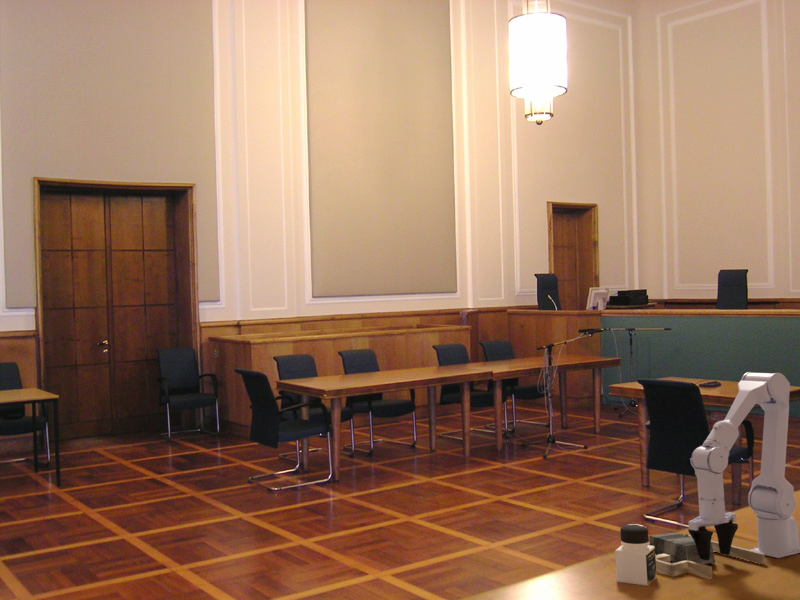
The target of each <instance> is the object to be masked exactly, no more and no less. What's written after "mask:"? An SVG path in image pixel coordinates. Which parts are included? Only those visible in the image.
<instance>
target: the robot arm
mask: <svg viewBox="0 0 800 600" xmlns="http://www.w3.org/2000/svg"><path fill="white" fill-rule="evenodd" d="M790 388H791V382H789V380H788V379H787V378H786V376H785V375H784V374H783V373H781V372H774V373H771V372H753V371H748V372H745V373H744V374H743V375H742V377H741V379H740V381H739V382H737V389H738V393H736V394H737V395H736V396H735V399H734V400H733V403H732V404H731V406H730V408H729V410H728V412H727V414H726V415H725V418H724V419H723V420H719V421H716V422H715V423H714V424H713V425H712V429H711V431H710V433H709V434H708V436H707V437H706V438H705V440H704V441H703V443H702V445H699V446H698V447H696V448H695V449H694V450H693V452H692V453H691V458H689V460H690V464H691V466H692V468H693V469H694V475H695V476H696V479H697V496H698V510H699V513H698V516H696V517H695V518H693V519H691V520H688V528H687V530H688V533H689V535H691V536H692V538H693V540H694V542H695V544H696V546H697V549H698V552H699V555H700V558H701V559H703V560H709V559H710V543H711V540H712V538H713V534H714V531H712V530H708V529H707V528H710V527H714V529H715V532H716V537H717V542H718V543H719V550H720V553H721V554H720V555H722V554H725V555H724V556H726V555H729V554H730V549H731V545H732V544H733V539H734V536H735V534H736V532H737V531H738V529H739V524H738V523H735V522H737V514H736V512H730V511H728V512H726V505H725V503H726V502H725V490H724V488H725V487H724V476H723V475H724V473H723V472H724V471H725V469H726V468H727V467H728V464H729V456H730V451H731V449H732V447H733V446H734V444H735V443H736V441H737V439H738V438H739V436H740V432H739V426H741V424H742V422H743V421H744V420H745V419H746V417H747V416H748V414H749V413H750V411H751V410H752V409H753V408H754V407H755V405H758V406H760V408H761V409H762V410H763V411H764V416H763V418H764V419H763V429H762V430H763V432H762V444H761V445H762V446H761V447H762V448H761V461H760V462H761V463H760V474H759V475H758V476H756V477H755V478H753V480H751V487H750V490H749V492H748V496H747V501H748V505H749V507H750V509H751V510H752V511H753V514H754V515H756V532H757V534H756V535H757V547H754V548H751V549H750V550H752V551H756V552H760V553H764V554H765V556H768V557H772V558H776V559H781V558H785V557H788V556H793V555H797V554H799V553H800V539H799V525H798V522H797V520H796V519H795V518H794V517H793V514H794V513H795V511H796V503H797V502H796V499H795V498H796V497H795V492H794V491H795V487H794V486H793V484H791V483H790V482H789V481H788V480H787V479H786V477H785V473H786V463H787V462H786V461H787V460H786V459H787V446H788V429H789V415H790V414H789V413H790V393H791V392H790V391H791V389H790Z"/></svg>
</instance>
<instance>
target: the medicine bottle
mask: <svg viewBox="0 0 800 600" xmlns="http://www.w3.org/2000/svg"><path fill="white" fill-rule="evenodd" d="M619 532H620V533H619V534H620V544H621V545H620V546H619V547H618V548H616V549H615V551H614V555H615V556H614V559H615V575H616V576H615V578H616V580H615V581H616V582H617V583H621V584H623V583H624V584H628V585H629V584H630V585H638V586H643V587H644V586H645V587H647V586H649V585H650V584H651V583H652V582H654V580H655V579H656V578H657V572H656V557H655V546H650V545H649V543H650V541H649V529H648V528H647V527H646V526H644V525H641V524H637V523H635V524H634V523H632V524H631V523H630V524H628V523H627V524H625V525H622V526H621V527H620V530H619Z"/></svg>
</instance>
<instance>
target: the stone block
mask: <svg viewBox="0 0 800 600" xmlns="http://www.w3.org/2000/svg"><path fill="white" fill-rule="evenodd" d="M688 535H689V534H688V533H685V534H683V533H678V532H669V533H667V532H666V533H660V534H651V535H648V537H649V543H650V546H655V554H656V555H659V554H668V555H670V559H671V561H672V563H676V562H681V561H685V560H689V561H692V562H696V563H700V564H703V565H708V564H710V563H711V564H710V565H715V563H716V559H715V555H714V554H715V553H714V552H713V548H712V542H711V543H710V559H709V560H703V559H701V558H700V555H699V552H698V549H697V546H696V544H695V542H694V540H693V538H692V537H689V536H688Z"/></svg>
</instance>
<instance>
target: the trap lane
mask: <svg viewBox="0 0 800 600" xmlns="http://www.w3.org/2000/svg"><path fill="white" fill-rule="evenodd" d="M688 536H689V537H692V536H691V535H690V534H688ZM711 542H712V548H713V551H716V552H719V553H720V550H719V543H718V541H715V540H712V539H711ZM649 545H650V542H649ZM729 555H730V556H734V557H738V558H742V559H746V560H749V561H753V562H757V563H760V564H765V565H766V555H765V554H764V553H760V552H756V551H752V550H751V549H749V548H748V549H747V548H743V547H740V546H739V547H738V546H736V545H732V544H731V549H730V554H729ZM655 557H656V573H659V574H663V575H665V576H670V577H676V576H680V575H685V574H687V573H688V574H691V575H694V576H697V575H698V576H697V577H701V578H704V579H708V580H711V579H713V567H712V566H709V565H708V564H705V565H703V564H700V563H696V562H692V561H689V560H685V561H681V562H676V563H675V562H671V559H670V555H668V554H659V555H655ZM749 561H748V562H749ZM760 564H759V565H760Z"/></svg>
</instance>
